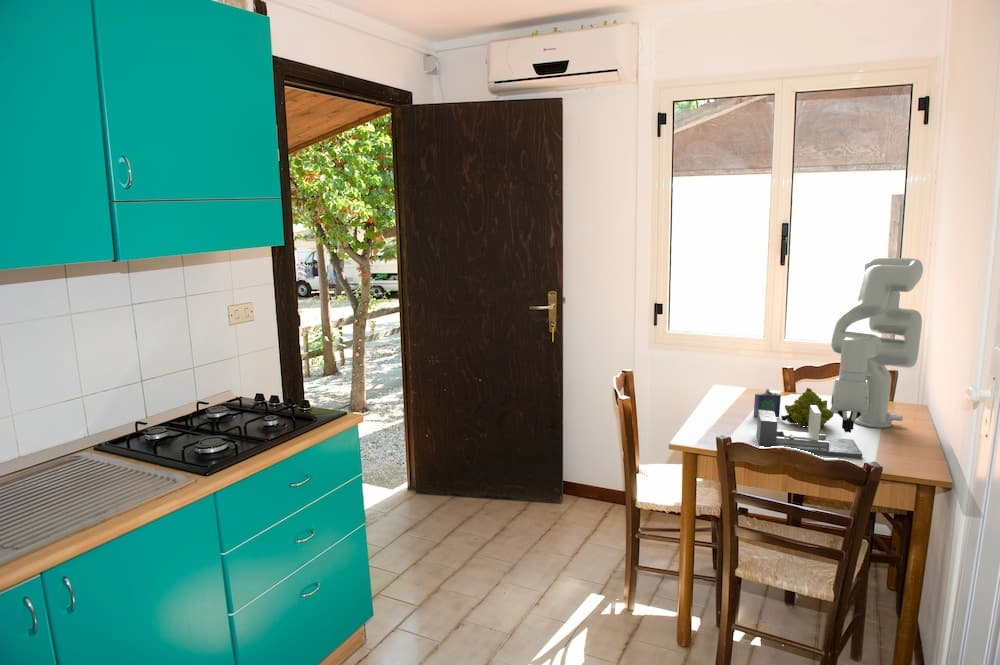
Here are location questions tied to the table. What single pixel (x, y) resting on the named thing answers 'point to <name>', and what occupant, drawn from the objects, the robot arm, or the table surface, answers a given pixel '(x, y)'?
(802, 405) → the vegetable
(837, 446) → the base
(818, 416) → the white block
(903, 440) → the table surface
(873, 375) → the robot arm
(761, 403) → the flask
